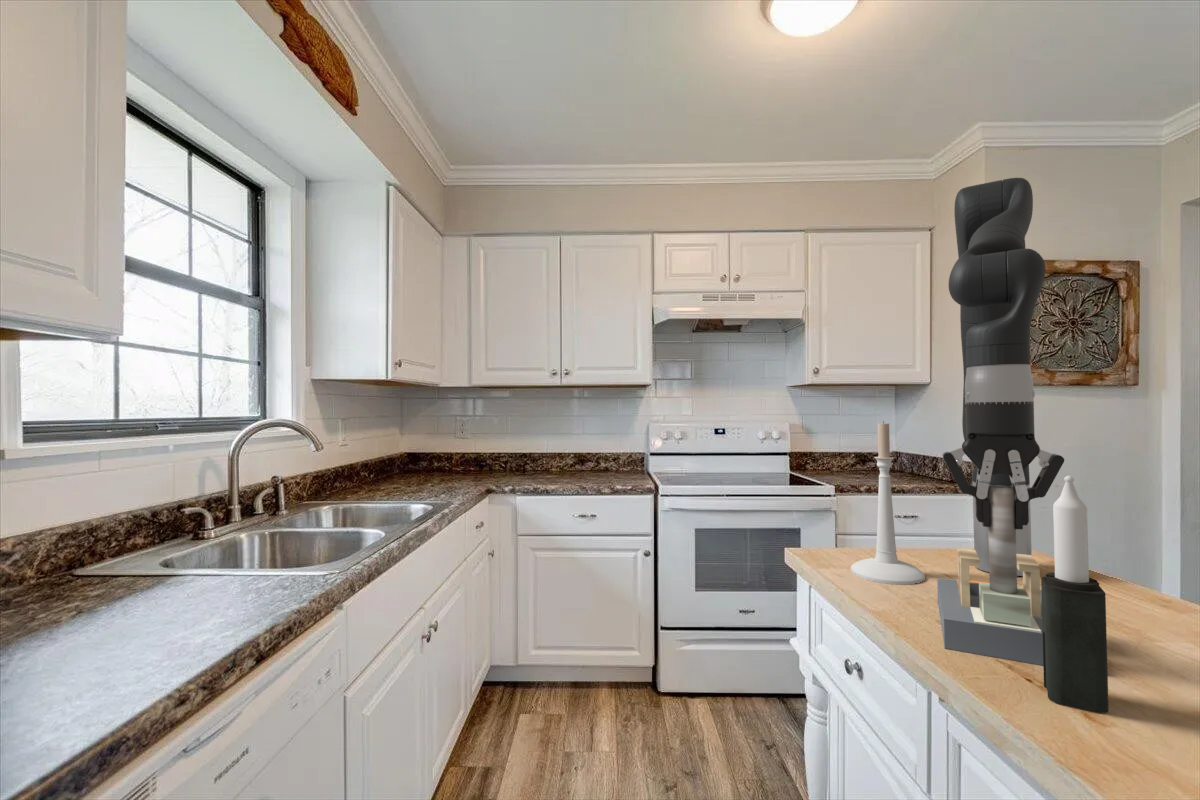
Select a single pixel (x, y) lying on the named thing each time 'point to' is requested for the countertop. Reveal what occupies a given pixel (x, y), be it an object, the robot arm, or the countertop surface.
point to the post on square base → (1003, 563)
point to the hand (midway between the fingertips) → (1001, 526)
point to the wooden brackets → (1023, 564)
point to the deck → (985, 628)
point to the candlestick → (886, 529)
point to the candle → (1073, 614)
